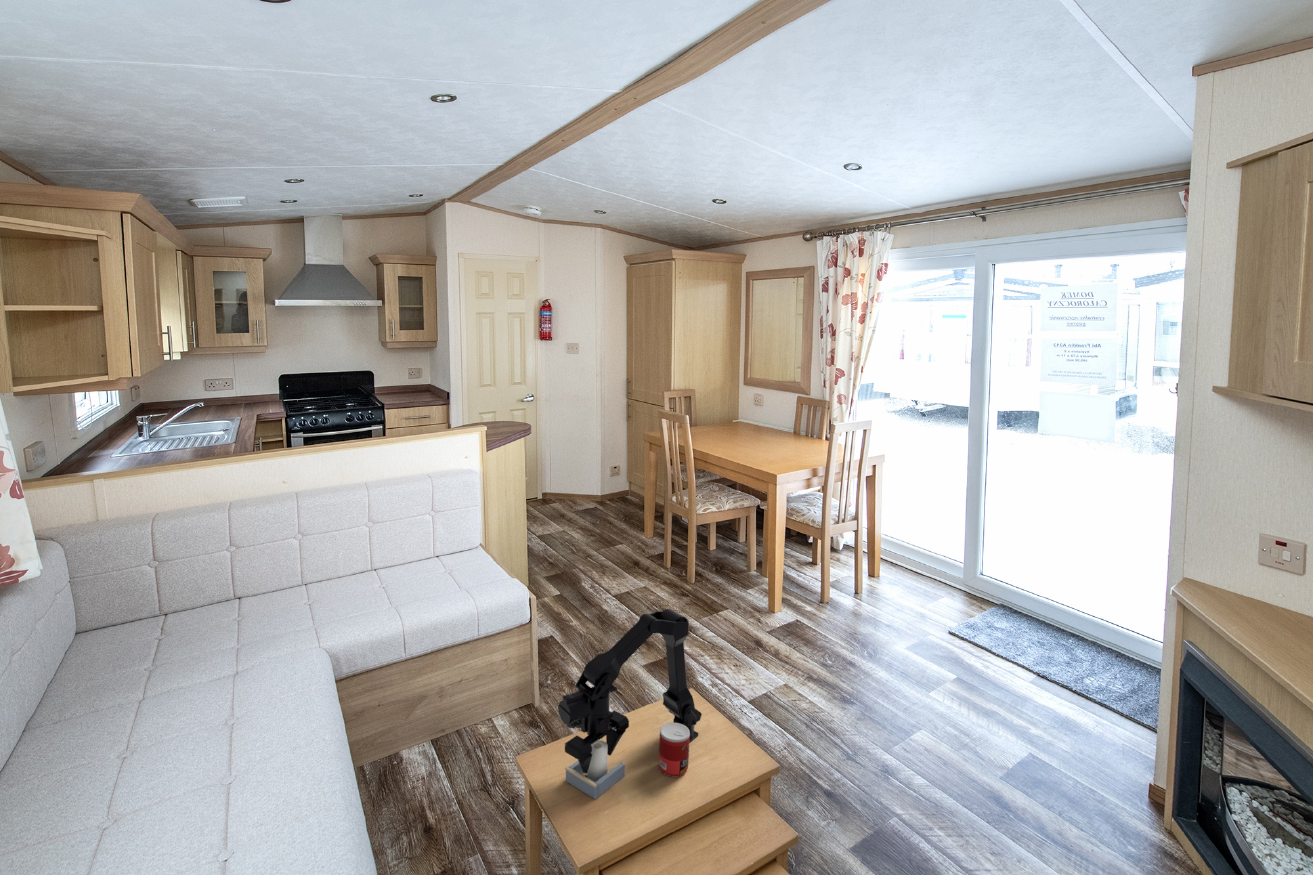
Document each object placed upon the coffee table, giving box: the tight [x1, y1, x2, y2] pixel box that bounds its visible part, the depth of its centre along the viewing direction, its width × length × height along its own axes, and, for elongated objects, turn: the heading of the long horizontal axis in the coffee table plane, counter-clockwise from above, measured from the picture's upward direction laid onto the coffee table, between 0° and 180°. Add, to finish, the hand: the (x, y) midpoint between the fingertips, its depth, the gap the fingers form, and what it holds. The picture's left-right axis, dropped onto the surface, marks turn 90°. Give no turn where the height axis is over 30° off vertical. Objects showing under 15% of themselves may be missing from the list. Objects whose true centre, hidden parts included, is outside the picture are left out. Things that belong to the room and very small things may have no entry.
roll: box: [586, 739, 608, 782], centre depth 176 cm, size 5×5×9 cm
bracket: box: [564, 760, 626, 800], centre depth 176 cm, size 12×10×4 cm
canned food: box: [658, 722, 691, 777], centre depth 181 cm, size 8×8×11 cm
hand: (597, 763), depth 176 cm, fingers open, 9 cm apart
